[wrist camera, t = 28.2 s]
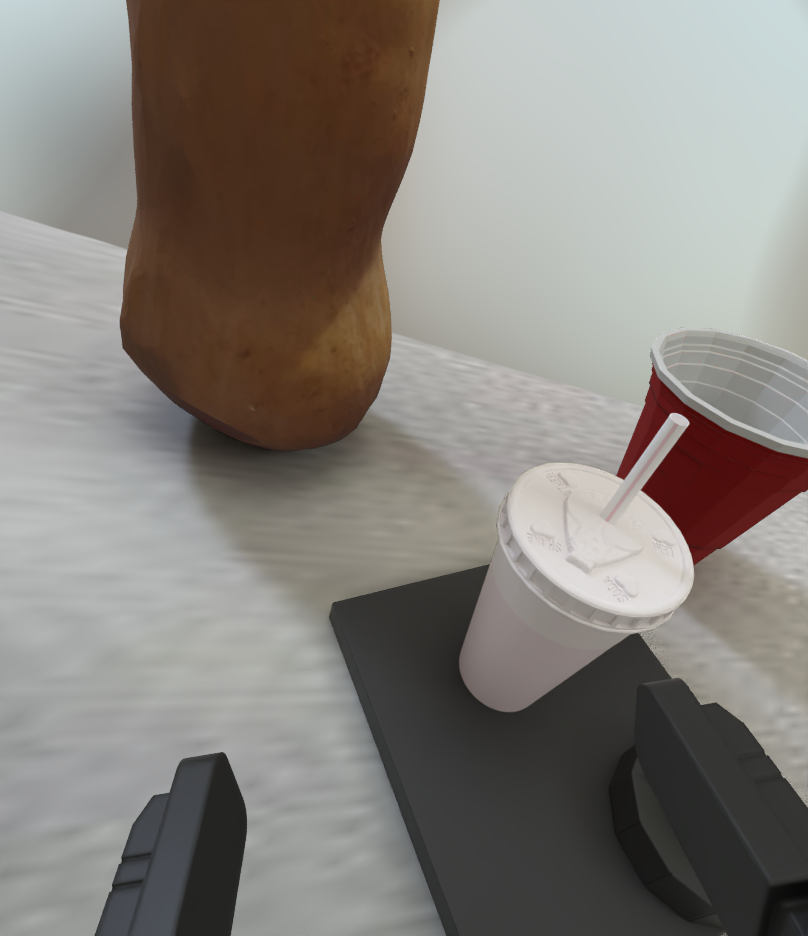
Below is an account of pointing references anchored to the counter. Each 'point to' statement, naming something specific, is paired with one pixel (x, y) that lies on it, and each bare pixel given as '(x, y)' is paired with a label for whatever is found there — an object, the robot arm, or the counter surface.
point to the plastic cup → (723, 433)
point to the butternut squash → (269, 205)
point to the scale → (518, 779)
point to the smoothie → (573, 575)
